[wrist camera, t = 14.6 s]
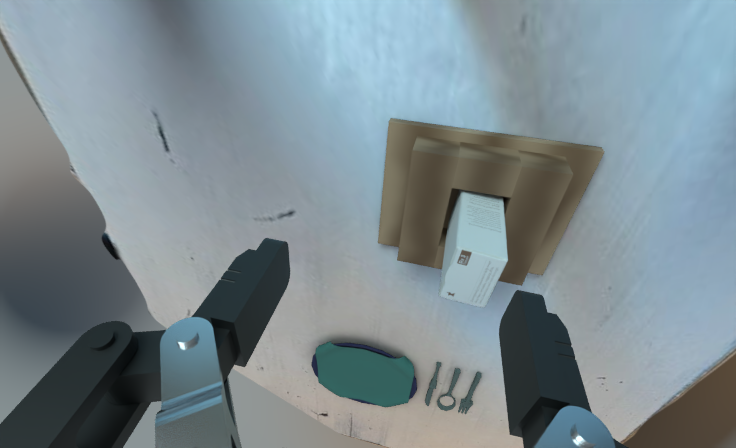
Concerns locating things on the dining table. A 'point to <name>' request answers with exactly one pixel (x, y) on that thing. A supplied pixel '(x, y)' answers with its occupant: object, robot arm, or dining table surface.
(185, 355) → the robot arm
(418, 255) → the socket holder
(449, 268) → the skincare box
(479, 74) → the dining table surface
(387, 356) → the cutlery set
